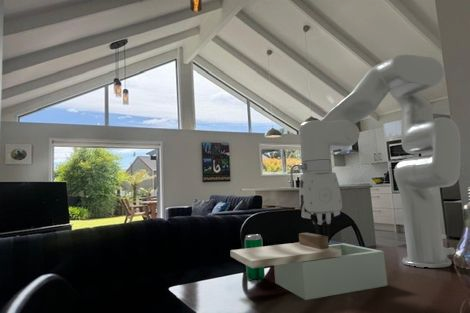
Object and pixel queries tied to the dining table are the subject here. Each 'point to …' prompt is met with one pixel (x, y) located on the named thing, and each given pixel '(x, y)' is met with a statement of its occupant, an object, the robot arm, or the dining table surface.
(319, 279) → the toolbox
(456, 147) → the robot arm
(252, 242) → the soda can
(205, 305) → the dining table surface
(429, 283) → the dining table surface
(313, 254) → the lid
